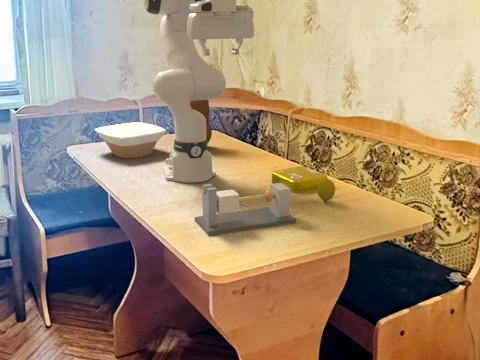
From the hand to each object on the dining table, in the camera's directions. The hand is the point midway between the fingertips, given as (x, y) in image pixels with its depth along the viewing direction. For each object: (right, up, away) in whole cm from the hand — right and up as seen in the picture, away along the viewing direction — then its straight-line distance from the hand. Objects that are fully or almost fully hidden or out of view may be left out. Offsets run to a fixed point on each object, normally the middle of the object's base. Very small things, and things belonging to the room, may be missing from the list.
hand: (221, 54), depth 171 cm
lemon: (+33, -44, +17) cm, 58 cm away
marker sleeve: (+2, -45, -4) cm, 45 cm away
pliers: (+1, -44, +17) cm, 47 cm away
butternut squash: (-13, -24, +82) cm, 86 cm away
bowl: (-40, -26, +73) cm, 87 cm away
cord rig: (+7, -49, 0) cm, 49 cm away
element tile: (+26, -39, +36) cm, 59 cm away
